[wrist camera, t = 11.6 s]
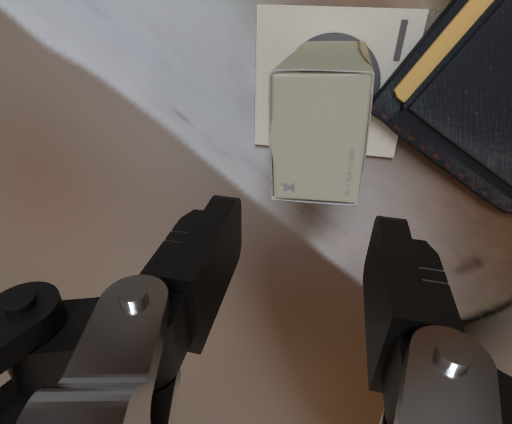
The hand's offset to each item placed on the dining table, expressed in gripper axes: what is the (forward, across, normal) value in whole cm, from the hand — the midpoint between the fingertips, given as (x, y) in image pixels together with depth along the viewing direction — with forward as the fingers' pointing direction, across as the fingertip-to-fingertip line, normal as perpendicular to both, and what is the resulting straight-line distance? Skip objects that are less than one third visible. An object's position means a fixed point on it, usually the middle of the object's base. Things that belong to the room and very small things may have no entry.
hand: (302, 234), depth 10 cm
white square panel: (+19, 0, 0) cm, 19 cm away
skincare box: (+19, 0, 0) cm, 19 cm away
